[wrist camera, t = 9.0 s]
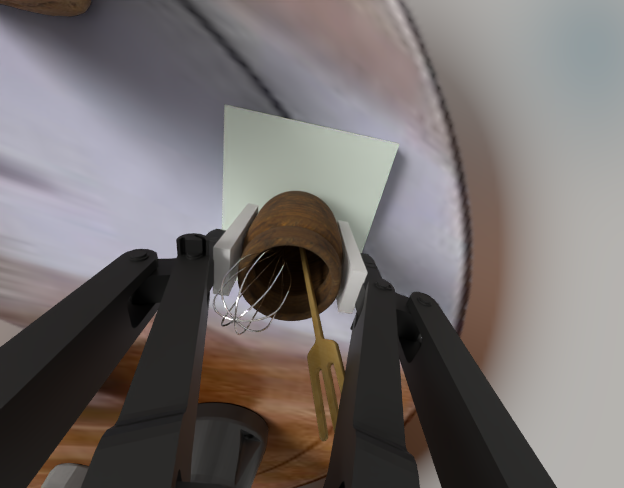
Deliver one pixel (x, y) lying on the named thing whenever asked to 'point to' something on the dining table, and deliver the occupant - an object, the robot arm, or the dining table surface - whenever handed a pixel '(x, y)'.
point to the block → (51, 6)
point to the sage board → (302, 167)
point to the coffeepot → (66, 476)
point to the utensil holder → (295, 279)
